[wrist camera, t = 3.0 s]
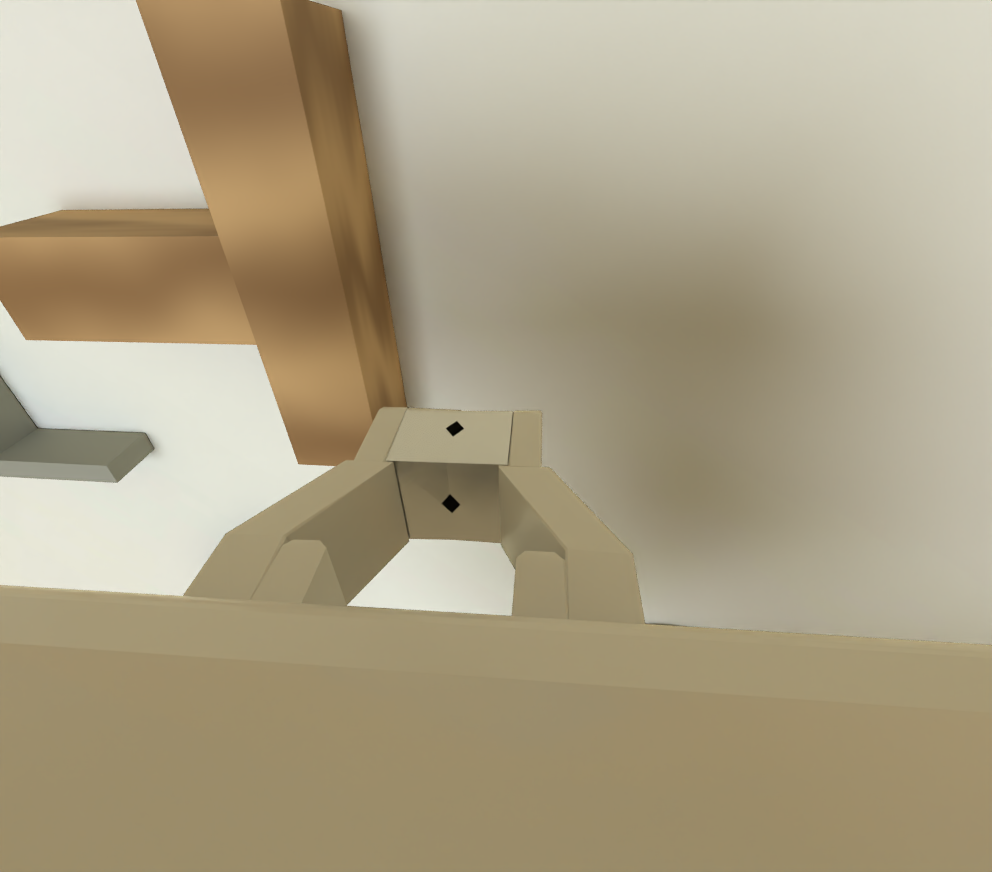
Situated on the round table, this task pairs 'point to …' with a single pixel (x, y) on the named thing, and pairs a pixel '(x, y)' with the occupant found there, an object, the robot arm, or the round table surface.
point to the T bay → (63, 448)
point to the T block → (239, 225)
